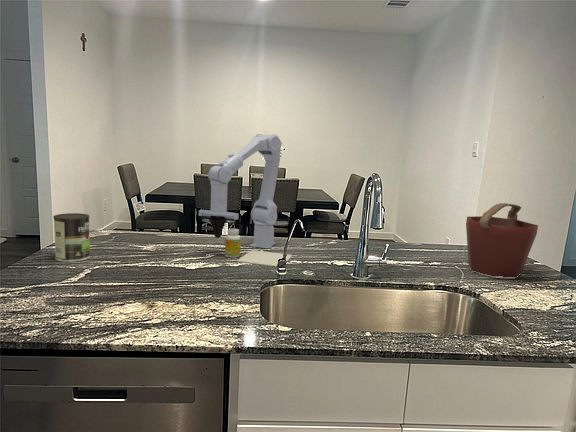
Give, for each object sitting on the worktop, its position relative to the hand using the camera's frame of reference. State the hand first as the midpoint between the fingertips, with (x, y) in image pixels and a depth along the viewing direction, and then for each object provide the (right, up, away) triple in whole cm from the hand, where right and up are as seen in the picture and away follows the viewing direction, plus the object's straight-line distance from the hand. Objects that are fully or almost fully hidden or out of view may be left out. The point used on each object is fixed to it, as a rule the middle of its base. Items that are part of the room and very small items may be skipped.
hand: (217, 237), depth 150 cm
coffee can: (-45, -6, -13) cm, 48 cm away
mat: (+17, -8, -1) cm, 19 cm away
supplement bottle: (+5, -7, 0) cm, 9 cm away
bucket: (+99, -13, -2) cm, 100 cm away
